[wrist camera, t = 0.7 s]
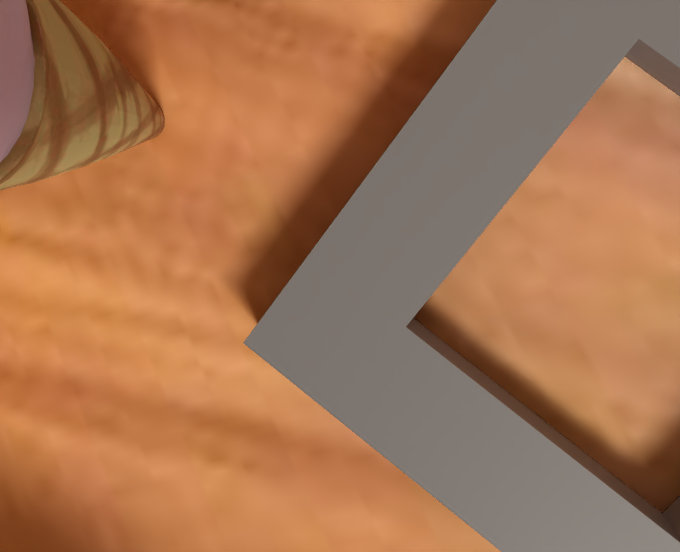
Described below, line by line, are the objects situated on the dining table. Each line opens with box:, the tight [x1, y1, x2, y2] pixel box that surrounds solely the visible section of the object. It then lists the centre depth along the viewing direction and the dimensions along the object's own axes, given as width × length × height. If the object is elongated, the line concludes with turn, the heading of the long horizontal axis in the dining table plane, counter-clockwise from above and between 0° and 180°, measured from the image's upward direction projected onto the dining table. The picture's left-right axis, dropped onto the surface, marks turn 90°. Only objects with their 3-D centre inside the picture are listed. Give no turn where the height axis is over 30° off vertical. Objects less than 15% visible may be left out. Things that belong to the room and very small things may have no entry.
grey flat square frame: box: [244, 0, 680, 552], centre depth 20 cm, size 19×19×2 cm
